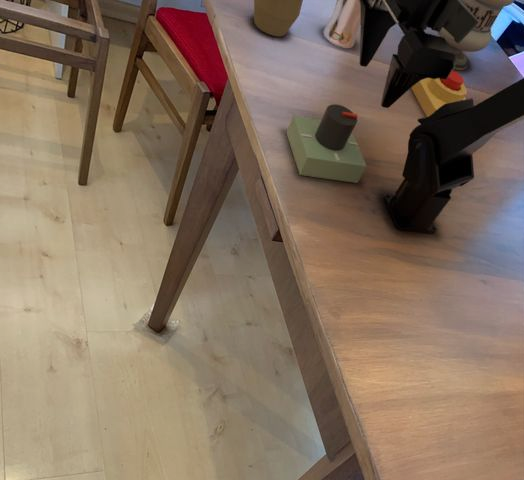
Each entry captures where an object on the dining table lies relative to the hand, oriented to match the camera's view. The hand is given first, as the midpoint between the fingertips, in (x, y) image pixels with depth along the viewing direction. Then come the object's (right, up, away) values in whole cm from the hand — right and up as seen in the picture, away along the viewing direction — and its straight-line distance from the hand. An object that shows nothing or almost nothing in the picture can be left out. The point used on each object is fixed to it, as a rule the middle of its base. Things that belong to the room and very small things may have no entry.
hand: (373, 85), depth 75 cm
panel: (-6, -8, +5) cm, 11 cm away
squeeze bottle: (-14, +20, +22) cm, 33 cm away
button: (+18, +11, +23) cm, 31 cm away
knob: (-6, -6, +2) cm, 9 cm away
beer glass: (-1, +22, +28) cm, 35 cm away
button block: (+17, +9, +26) cm, 32 cm away
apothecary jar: (+23, +25, +39) cm, 52 cm away
